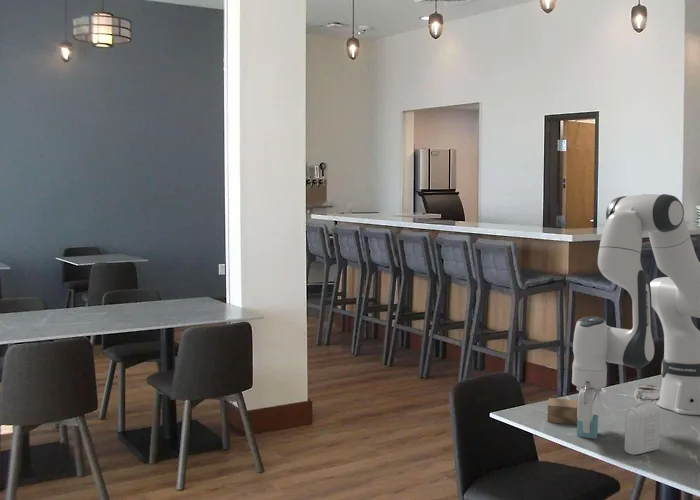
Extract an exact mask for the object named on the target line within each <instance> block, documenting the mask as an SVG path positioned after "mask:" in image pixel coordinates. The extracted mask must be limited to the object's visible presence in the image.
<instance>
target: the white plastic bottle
mask: <svg viewBox="0 0 700 500" xmlns="http://www.w3.org/2000/svg"><path fill="white" fill-rule="evenodd" d="M661 414H662V413H661V407H660V406H659V405H657V403H656V404H654V403H650V402H641V403H638V402H637V403H636V404H633V405H632V406H630V407H629V408H628V409H627V410H626V412H625V423H624V424H625V427H624V451H625V452H626V453H627V454H630V455H632V456H635V455H641V454H644V453H648V452H652V451H657V450H658V449H659V448H660V433H661Z"/></svg>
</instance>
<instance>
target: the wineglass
mask: <svg viewBox="0 0 700 500" xmlns="http://www.w3.org/2000/svg"><path fill="white" fill-rule="evenodd" d="M633 387H634V389H635V390H634V392H633V398H634V400H636V402H637V404H638V403H641V402H650V403H654V404H657V402H658V401H659V399H660V389H661V387H659V386H658V385H654V384H653V385H652V384H645V383H641V384H639V383H638V384H635V385H634V386H633Z"/></svg>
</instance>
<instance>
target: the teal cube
mask: <svg viewBox="0 0 700 500" xmlns="http://www.w3.org/2000/svg"><path fill="white" fill-rule="evenodd" d="M598 431H599V414H594V416H593V419H592V421H591V422H590V432H589V433H584V432H583V424H582V421H579V420H578V417H577V424H576V437H581V438H588V439H597V438H598V435H599V434H598Z"/></svg>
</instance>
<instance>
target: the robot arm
mask: <svg viewBox="0 0 700 500" xmlns="http://www.w3.org/2000/svg"><path fill="white" fill-rule="evenodd" d="M684 210H685V209H684V206H683V203H682V202H681V201H680V199H679V198H678V197H677V196H676V195H672V194H668V193H667V194H666V193H663V194H654V193H653V194H652V193H648V194H647V193H641V194H637V195H635V194H634V195H631V196H630V195H629V196H627V195H622V196H619V197H616V198H614V199H612V200H611V201H610V202H609V203H608V205H607V208H606V211H605V219H606V222H605V223H604V227H603V230H602V233H601V238H600V241H599V242H600V243H599V247H598V254H597V267H598V269H599V270H598V271H599V272H600V273H601V275H602V276H603V277H604V278H605V279H607V280H608V281H609V282H612V283H613V284H615V285H616V286H619V287H621V288H623V289H624V290H626V291H627V292H628V294H629V296H630V298H631V302H632V306H631V307H632V328H631V329H628V328H619V327H614V326H610V325H607V323H606V320H605V318H602V317H600V316H594V315H593V316H584V317H581V318H579V319H578V320H577V321H576V324H575V328H574V332H573V343H572V352H573V361H572V370H571V371H572V373H571V384H572V385H573V386H576V391H578V392H579V393H578V400H577V418H578V420H579V421H582V424H583V432H584V433H589V432H590V422H591V421H592V419H593V416H594V415H595V412H596V408H597V405H598V403H599V400H600V399H599V398H600V394H601V392H602V388H605V387H606V386H607V372H608V368H607V367H608V366H607V363H610V364H611V363H612V364H615V365H616V364H617V365H622V366H626V367H629V368H631V369H632V368H633V369H635V370H636V369H637V370H640V369H642V368H644V367H646V366H648V365H649V364H651V362H652V361H653V359H654V357H655V352H656V351H655V349H656V348H655V339H654V334H653V333H654V332H653V313H652V310H654V311H655V313H656V314H657V317H658V319H659V321H660V323H661V326H662V331H663V339H664V340H663V343H664V345H663V346H664V348H663V349H664V350H663V352H664V353H663V358H662V361H661V373H660V374H661V377H662V378H661V386H660V390H659V393H660V399H659V401H658V402H657V403H656V404H657V405H658V406H659V408H663V409H666V410H670V411H672V412H675V413H678V414H681V415H695V416H700V330H699V329H698V328H697V327H696V326H695V324H694V322H693V320H692V318H698V319H700V261H699V259H698V257H697V254H696V251H695V246H694V244H693V242H692V238H691V237H692V236H691V235H690V231H689V227H688V225H687V222H686V220H685V218H684V217H685V211H684ZM643 234H648V237H649V239H648V240H649V242H650V246H651V249H652V253H653V257H654V261H655V263H656V266H657V268H658V269H659V271H660V272H661V273H663V274H664V275H666V276H663V277H656V278H654V279H653V280H650V276H649V274H648V273H647V272H646V271H644V269H643V267H642V263H641V262H642V261H641V256H642V255H641V253H642V248H643V247H642V246H643ZM606 362H607V363H606Z"/></svg>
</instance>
